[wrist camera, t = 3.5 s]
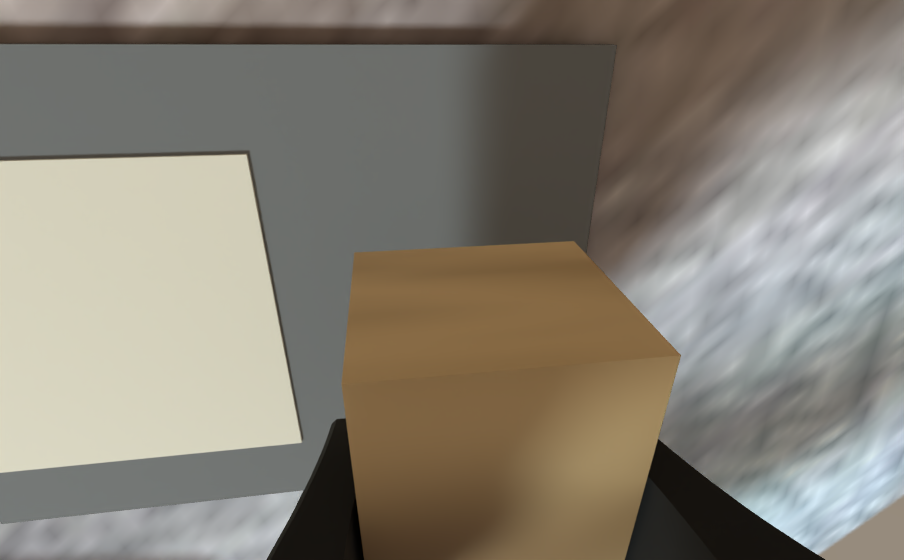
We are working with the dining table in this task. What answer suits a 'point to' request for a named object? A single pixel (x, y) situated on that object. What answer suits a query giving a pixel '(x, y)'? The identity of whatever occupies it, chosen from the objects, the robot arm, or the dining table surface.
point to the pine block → (499, 404)
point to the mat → (244, 240)
